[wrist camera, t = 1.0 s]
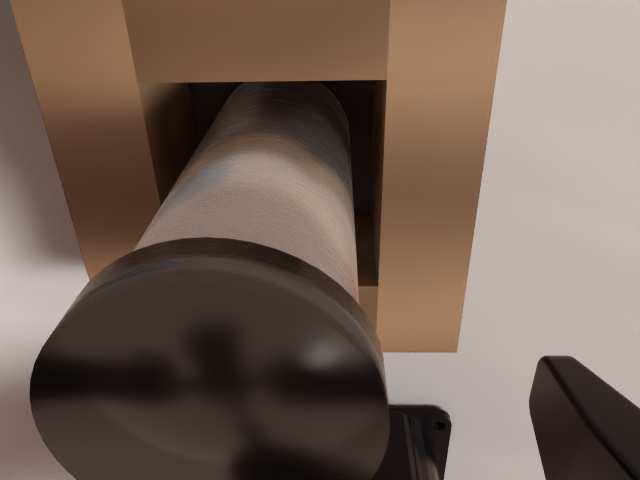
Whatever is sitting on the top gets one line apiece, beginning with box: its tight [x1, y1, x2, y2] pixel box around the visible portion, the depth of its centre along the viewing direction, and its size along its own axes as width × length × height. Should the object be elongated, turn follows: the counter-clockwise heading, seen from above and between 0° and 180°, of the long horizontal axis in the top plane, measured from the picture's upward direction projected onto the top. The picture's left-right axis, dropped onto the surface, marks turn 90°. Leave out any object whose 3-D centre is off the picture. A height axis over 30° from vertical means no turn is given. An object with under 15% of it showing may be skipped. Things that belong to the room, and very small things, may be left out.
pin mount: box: [9, 0, 507, 352], centre depth 15 cm, size 10×10×4 cm
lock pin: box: [30, 81, 390, 480], centre depth 12 cm, size 5×5×11 cm
